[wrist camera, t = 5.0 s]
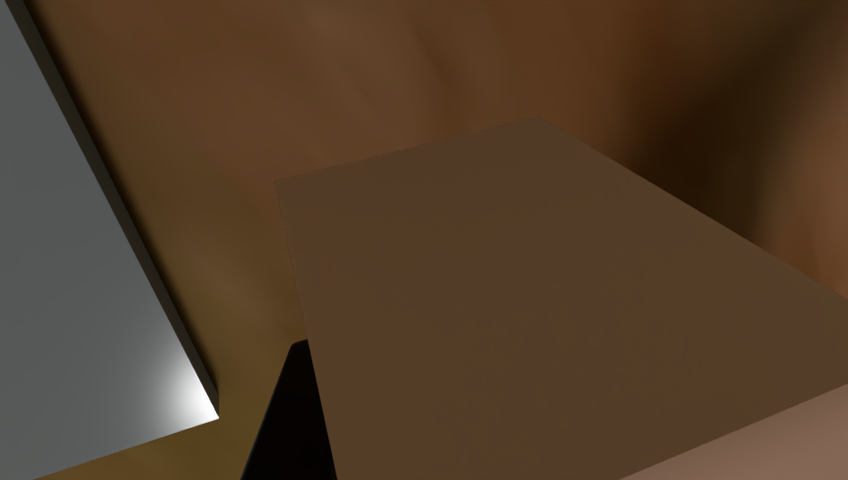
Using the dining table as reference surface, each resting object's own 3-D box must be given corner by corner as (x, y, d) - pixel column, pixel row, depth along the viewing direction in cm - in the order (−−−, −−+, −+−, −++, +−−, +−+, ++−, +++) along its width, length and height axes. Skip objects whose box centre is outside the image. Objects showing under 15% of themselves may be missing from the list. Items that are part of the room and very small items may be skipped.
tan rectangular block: (538, 116, 9) (930, 348, 4) (538, 315, 11) (779, 610, 6) (273, 181, 8) (360, 590, 3) (336, 382, 10) (439, 786, 5)
